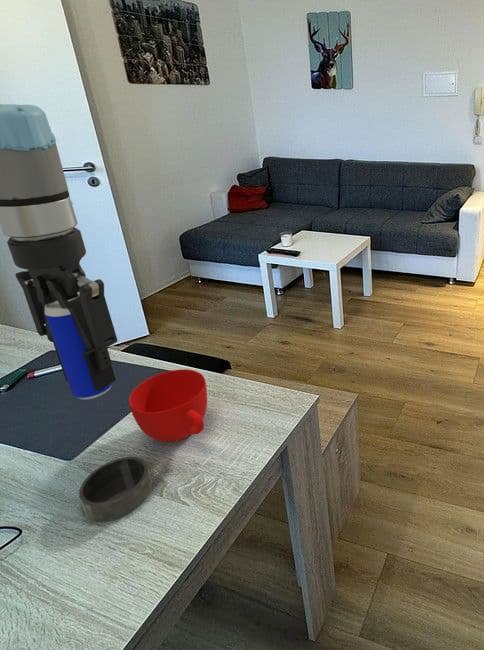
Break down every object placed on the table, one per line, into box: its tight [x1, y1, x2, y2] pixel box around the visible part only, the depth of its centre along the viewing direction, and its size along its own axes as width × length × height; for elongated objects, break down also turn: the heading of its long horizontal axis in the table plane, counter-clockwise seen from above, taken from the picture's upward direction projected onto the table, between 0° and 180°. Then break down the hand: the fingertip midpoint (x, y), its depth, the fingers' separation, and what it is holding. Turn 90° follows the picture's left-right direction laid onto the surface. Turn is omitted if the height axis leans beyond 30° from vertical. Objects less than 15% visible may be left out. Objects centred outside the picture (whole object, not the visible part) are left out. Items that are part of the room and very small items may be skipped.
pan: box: [78, 456, 153, 523], centre depth 71 cm, size 9×9×4 cm
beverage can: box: [45, 296, 114, 400], centre depth 62 cm, size 5×5×15 cm
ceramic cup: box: [128, 368, 208, 443], centre depth 82 cm, size 13×17×10 cm
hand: (91, 380), depth 64 cm, fingers closed on beverage can, 5 cm apart
